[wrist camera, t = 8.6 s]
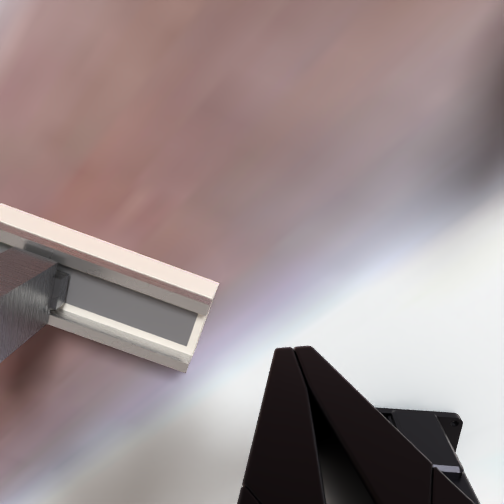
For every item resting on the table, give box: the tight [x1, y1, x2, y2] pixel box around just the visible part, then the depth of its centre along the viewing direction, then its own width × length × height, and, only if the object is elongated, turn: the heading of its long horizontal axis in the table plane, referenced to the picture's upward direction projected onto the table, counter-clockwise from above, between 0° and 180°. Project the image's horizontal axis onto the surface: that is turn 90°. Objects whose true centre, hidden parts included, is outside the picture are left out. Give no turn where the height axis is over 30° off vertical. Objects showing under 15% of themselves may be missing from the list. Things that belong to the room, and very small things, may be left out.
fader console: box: [0, 203, 219, 373], centre depth 21 cm, size 14×5×4 cm, turn 70°
